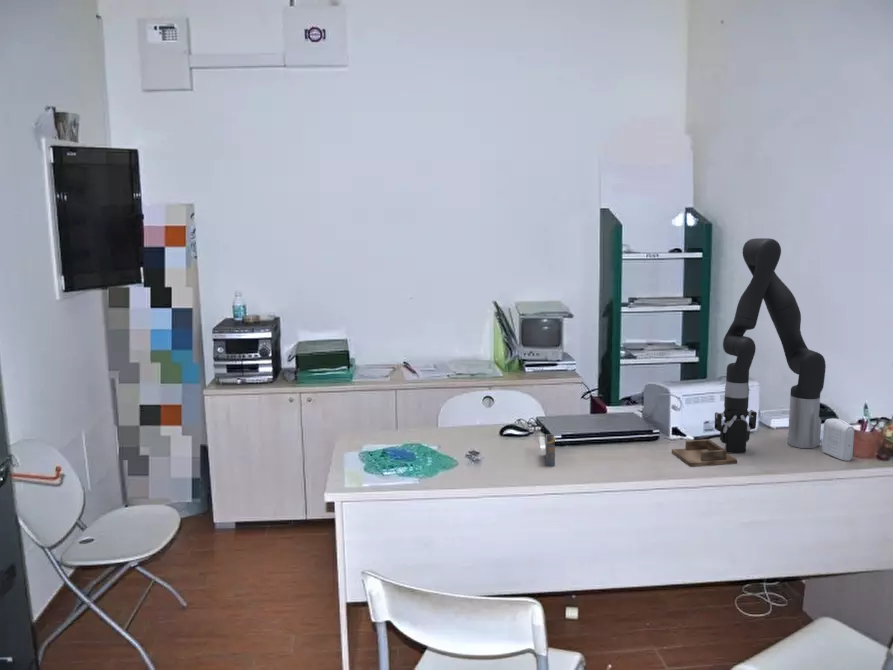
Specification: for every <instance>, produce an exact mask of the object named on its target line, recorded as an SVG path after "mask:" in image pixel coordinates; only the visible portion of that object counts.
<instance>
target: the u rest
mask: <svg viewBox="0 0 893 670" xmlns="http://www.w3.org/2000/svg"><path fill="white" fill-rule="evenodd" d="M684 447H685V448H676V449H675V448H674V449H673V448H672V449H671V454H672V455H674V456H675V457H676V458H677V459H679V460H681V461H682V462H683V463H685V464H686V465H687V466H689V468H693V467H706V466H718V465H720V466H721V465H732V464H734V465H735V464H738V459H736V458H735V457H733V456H732V455H730V453H727V451H726V450H725V448H723V447H722V446H720V445H719V444H717V443H715V442H714V441H712V440H711V439H705V438H704V439H695V440H691V439H690V440H685V446H684Z"/></svg>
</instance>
